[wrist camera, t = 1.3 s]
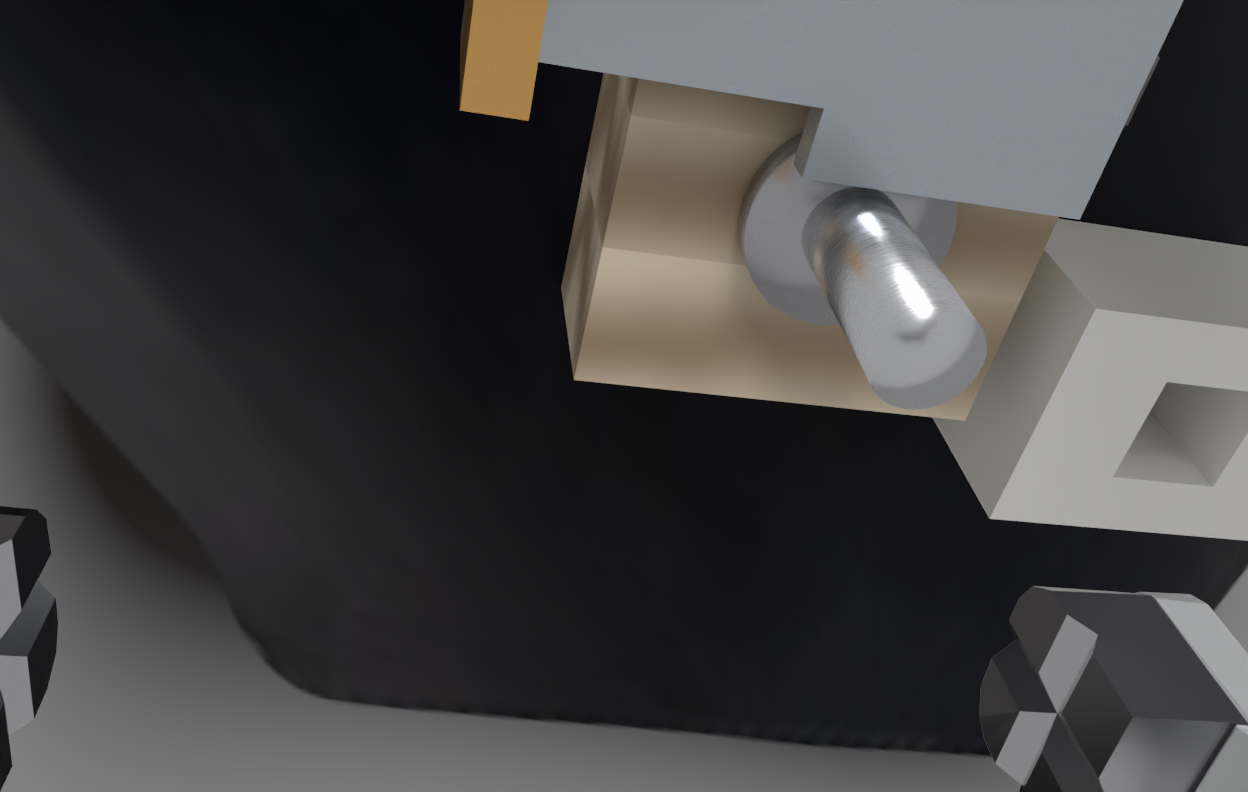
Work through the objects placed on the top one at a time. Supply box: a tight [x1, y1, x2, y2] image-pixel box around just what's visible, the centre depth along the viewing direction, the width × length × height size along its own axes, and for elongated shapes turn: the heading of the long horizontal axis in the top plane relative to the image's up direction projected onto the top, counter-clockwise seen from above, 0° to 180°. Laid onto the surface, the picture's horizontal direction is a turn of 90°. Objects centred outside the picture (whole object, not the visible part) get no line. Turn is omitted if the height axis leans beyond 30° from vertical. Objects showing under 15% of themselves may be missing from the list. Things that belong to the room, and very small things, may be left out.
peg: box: [738, 132, 987, 410], centre depth 33 cm, size 6×6×14 cm
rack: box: [932, 219, 1248, 541], centre depth 43 cm, size 9×12×7 cm
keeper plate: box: [460, 0, 1183, 220], centre depth 27 cm, size 18×7×5 cm, turn 79°
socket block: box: [561, 56, 1160, 421], centre depth 36 cm, size 14×14×7 cm
